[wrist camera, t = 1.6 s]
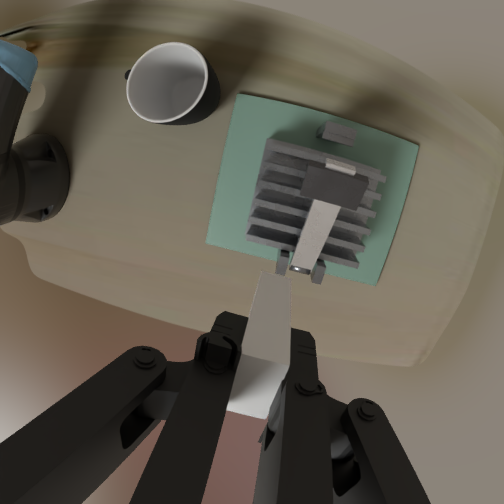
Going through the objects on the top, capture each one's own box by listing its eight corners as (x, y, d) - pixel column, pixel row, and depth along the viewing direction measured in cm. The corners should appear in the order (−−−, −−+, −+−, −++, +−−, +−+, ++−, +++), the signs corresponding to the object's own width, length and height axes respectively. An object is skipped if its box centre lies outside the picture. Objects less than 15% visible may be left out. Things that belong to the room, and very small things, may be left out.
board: (206, 241, 40) (205, 243, 39) (238, 94, 33) (237, 93, 33) (374, 284, 39) (375, 286, 39) (417, 145, 32) (418, 145, 32)
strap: (277, 260, 33) (275, 269, 32) (311, 152, 22) (310, 160, 21) (321, 271, 32) (320, 280, 32) (369, 169, 22) (371, 178, 21)
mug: (240, 77, 33) (223, 52, 23) (212, 139, 36) (186, 134, 26) (160, 55, 32) (125, 32, 23) (135, 113, 35) (93, 105, 26)
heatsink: (244, 241, 39) (231, 266, 30) (272, 118, 33) (268, 106, 25) (346, 267, 38) (360, 298, 30) (381, 149, 33) (408, 148, 24)
